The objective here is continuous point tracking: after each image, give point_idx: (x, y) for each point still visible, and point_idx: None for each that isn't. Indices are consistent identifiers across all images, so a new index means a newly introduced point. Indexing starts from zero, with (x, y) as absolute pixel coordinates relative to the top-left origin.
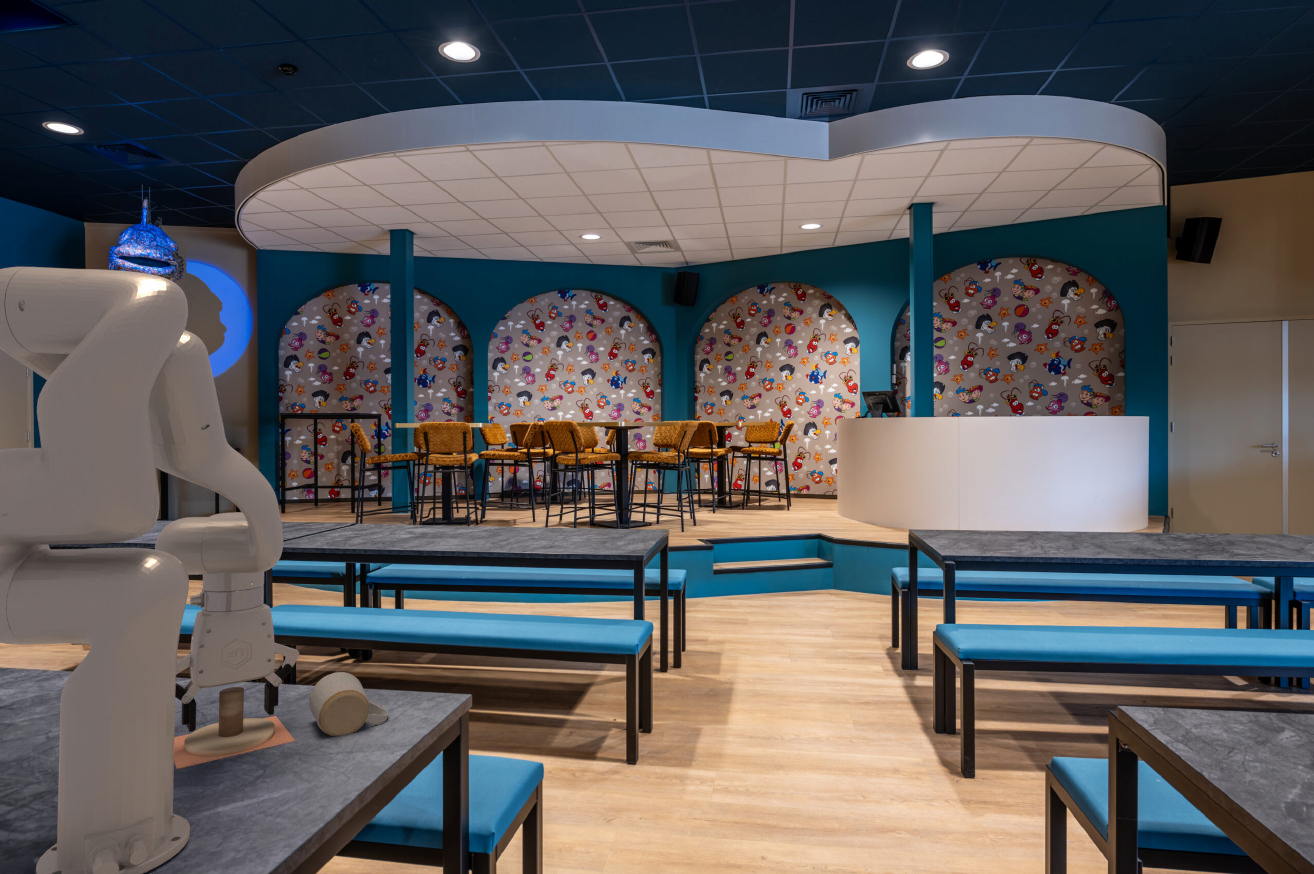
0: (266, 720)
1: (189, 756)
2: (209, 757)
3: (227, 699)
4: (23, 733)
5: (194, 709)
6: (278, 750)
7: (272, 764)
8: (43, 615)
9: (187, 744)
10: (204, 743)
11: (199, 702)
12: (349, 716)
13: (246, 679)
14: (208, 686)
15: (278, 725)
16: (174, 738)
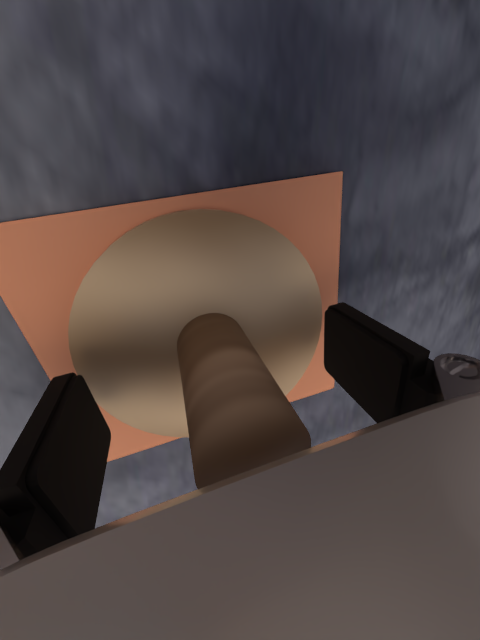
0: (111, 409)
1: (306, 254)
2: (261, 217)
3: (266, 395)
4: None
5: (387, 338)
6: (37, 201)
7: (28, 30)
8: None
9: (317, 300)
10: (280, 288)
11: None
12: None
13: (184, 499)
14: (465, 396)
15: None
16: (320, 385)
